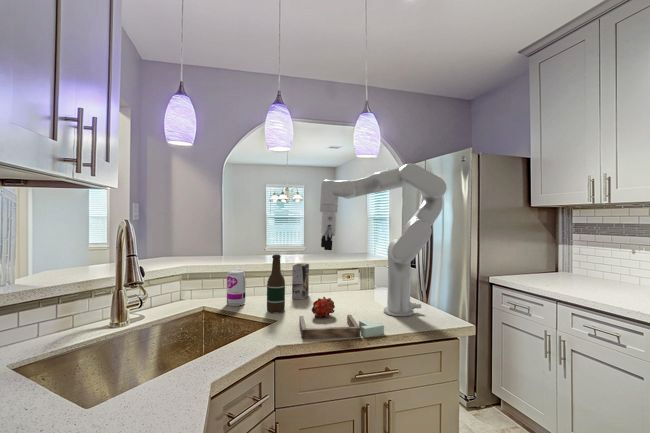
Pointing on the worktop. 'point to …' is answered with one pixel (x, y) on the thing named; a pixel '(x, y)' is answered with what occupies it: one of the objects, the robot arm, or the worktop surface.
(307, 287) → the coffee box
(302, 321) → the bay
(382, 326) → the t block
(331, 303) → the dragon fruit
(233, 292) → the supplement can
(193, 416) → the worktop surface
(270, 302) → the beer bottle
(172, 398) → the worktop surface
